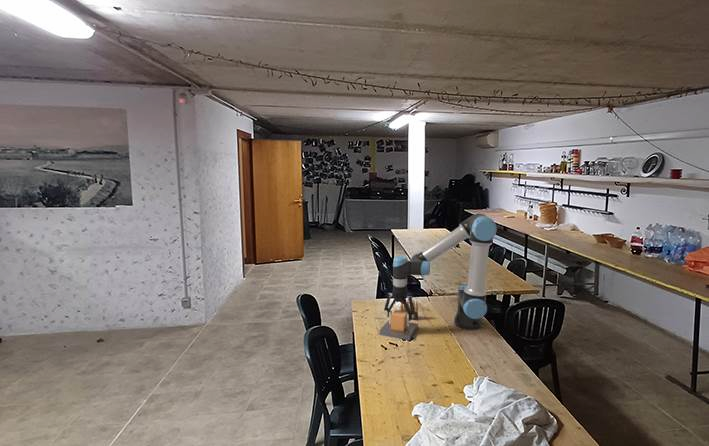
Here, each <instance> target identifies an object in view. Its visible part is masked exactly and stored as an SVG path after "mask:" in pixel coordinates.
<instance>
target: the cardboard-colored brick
mask: <svg viewBox="0 0 709 446" xmlns="http://www.w3.org/2000/svg"><path fill="white" fill-rule="evenodd" d="M407 315H408V313H407V312H406V311H400V310H398V309H395V310H394V311H392V314H391V329H394V330H400V331H403V332H404V330H405V328H406V327H407Z"/></svg>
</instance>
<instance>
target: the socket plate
mask: <svg viewBox="0 0 709 446" xmlns="http://www.w3.org/2000/svg"><path fill="white" fill-rule="evenodd" d="M418 329H419V323H415V322H410V325H409V327H406V328H405V330H404V332H403V331H400V330H394V329H391V324H389V319H388V320H387V321H386V323H384V325H383V326H382V327H381V328H380V329H379V332H378V333H379V334H378V335H379V336H385V337H389V338H395V339H398V340H399V339H400V340H406V341H411V339H412V338H413V337H414V335H415V334H416V332H417V331H418Z"/></svg>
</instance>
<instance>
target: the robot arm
mask: <svg viewBox="0 0 709 446" xmlns="http://www.w3.org/2000/svg"><path fill="white" fill-rule="evenodd" d="M497 231H498V230H497V225H496V222H495V221H494V219H492V218H491V217H489V216H487V215H486V214H483V213H475V214H473V215H471V216H470V217H468V218H466V219H465V220H463V221H462V222H461V223H459V225H458V227H456V228H455V229H454V230H452V231H451V232H449V233H447V234H446V235H444V236H442V237H441V238H440V239H439V240H436V241H435V242H434V243H432V244H431V245H429V246H428V247H426V248H425V249H423V250H421V251H420V252H418V253H415V254H413V255H412V256H411V258H410V260H408V257H407V256H401V255H399V256H394V258H393V263H392V293H391V292H388V293H387V294H386V301H385V305H384V309H383V310H384V311H386V312H387V313H386V314H387V318H388V320H389V324H391V314H392V313H393V311H392V309H393V307H394V305H395V304H396V302H397V303H398V302H399V303H400V304H401V303H403V306H405V308H406V310H407V313H408V315H407V327H409V325H410V323H411V322H410V321H412V320H411V319H412V315H414V314H415V310H414V305H413V295H408V286H407V285H408V276H421V277H422V276H429V275H430V274H431V265H430V263H431V262H432V261H434V260H435V259H437V258H438V257H440V256H442V255H444V254H445V253H446V252H447V251H450V250H451V249H453V248H454V247H455V246H457V245H459V244H460V243H462V242H463V241H465V240H466V239H469V242H470V243H471V250H470V251H471V252H470V259H469V269H468V276H467V284H460V285H459V286H458V288H457V291H458V293H457V294H458V295H457V310H456V313H455V315H454V318H453V323H454V325H455V326H456V327H458V328H461V329H466V330H477V329H480V328H481V327H482V319H481V318H482V317H484V316H485V315H486V314H487V312H488V305H487V303H486V301H487V292H486V290H485V284H486V275H487V267H488V258H489V251H490V250H489V249H490V246H491V245H493V243H494V237H495V236H496V234H497ZM392 298H393V300H392V302H391V299H392ZM407 300H408V301H409V306H410V308H411V310H410V308H409V306H408V304H407ZM390 302H391V304H390ZM389 305H390V306H389Z"/></svg>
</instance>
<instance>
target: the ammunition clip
mask: <svg viewBox="0 0 709 446" xmlns="http://www.w3.org/2000/svg"><path fill="white" fill-rule="evenodd" d="M406 301H407V304H408V306H409V308H410V304H409V300H408V299H406ZM412 301H413V305H414V310H415V314H414V315H412V319H411V321H418V320H419V307H418V300H416V301H415V300H414V299H412ZM399 308H400V311H406V312H407V310H406V308H405V306H404V304H403V303H401V302H400V307H399ZM410 310H411V308H410Z"/></svg>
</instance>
